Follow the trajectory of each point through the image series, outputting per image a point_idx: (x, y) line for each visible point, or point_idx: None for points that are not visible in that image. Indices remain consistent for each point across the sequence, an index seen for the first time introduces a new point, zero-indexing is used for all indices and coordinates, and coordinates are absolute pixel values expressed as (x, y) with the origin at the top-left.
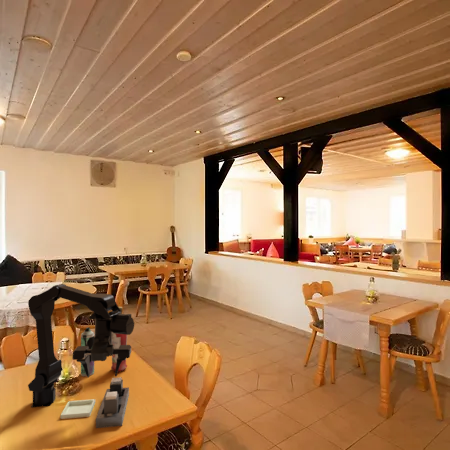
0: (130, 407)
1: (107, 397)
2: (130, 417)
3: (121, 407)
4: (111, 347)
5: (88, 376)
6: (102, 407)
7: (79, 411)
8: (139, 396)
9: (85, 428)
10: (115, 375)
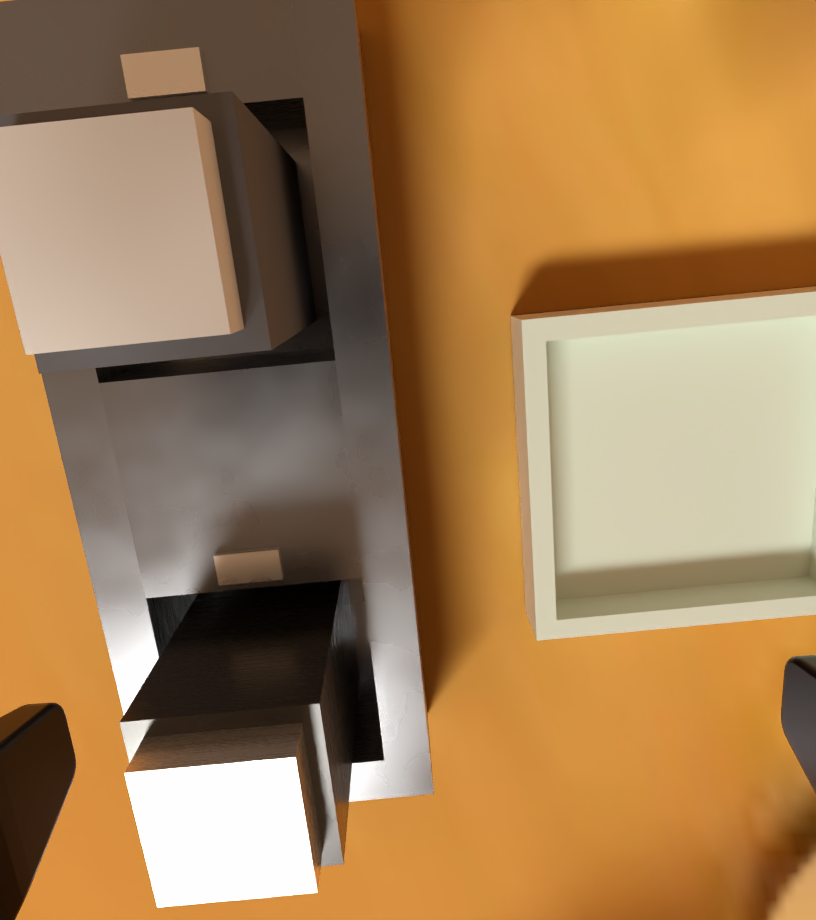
0: None
1: (158, 116)
2: None
3: None
4: None
5: (810, 668)
6: (347, 305)
7: (664, 436)
8: None
9: (497, 72)
10: (27, 714)
